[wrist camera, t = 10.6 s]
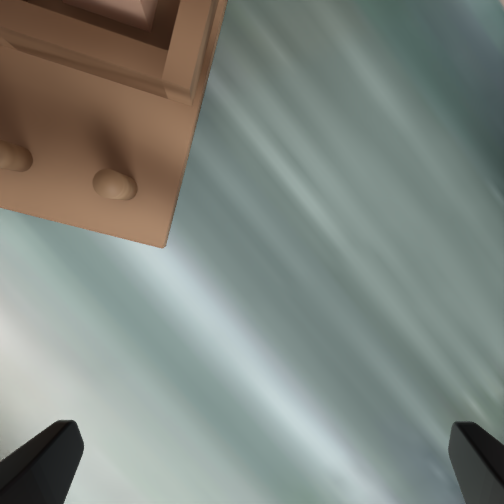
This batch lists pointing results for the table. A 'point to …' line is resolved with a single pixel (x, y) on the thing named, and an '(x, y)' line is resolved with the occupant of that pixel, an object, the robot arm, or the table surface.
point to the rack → (101, 112)
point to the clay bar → (121, 10)
